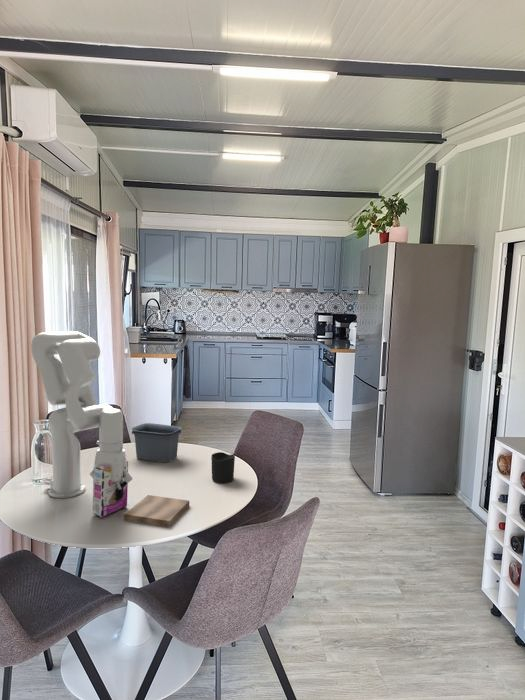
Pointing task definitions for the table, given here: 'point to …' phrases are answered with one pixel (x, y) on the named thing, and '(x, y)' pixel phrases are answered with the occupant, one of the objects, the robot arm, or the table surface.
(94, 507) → the candy bar box
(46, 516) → the table surface
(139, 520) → the walnut board
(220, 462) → the pen holder
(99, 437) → the robot arm
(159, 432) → the storage bin
